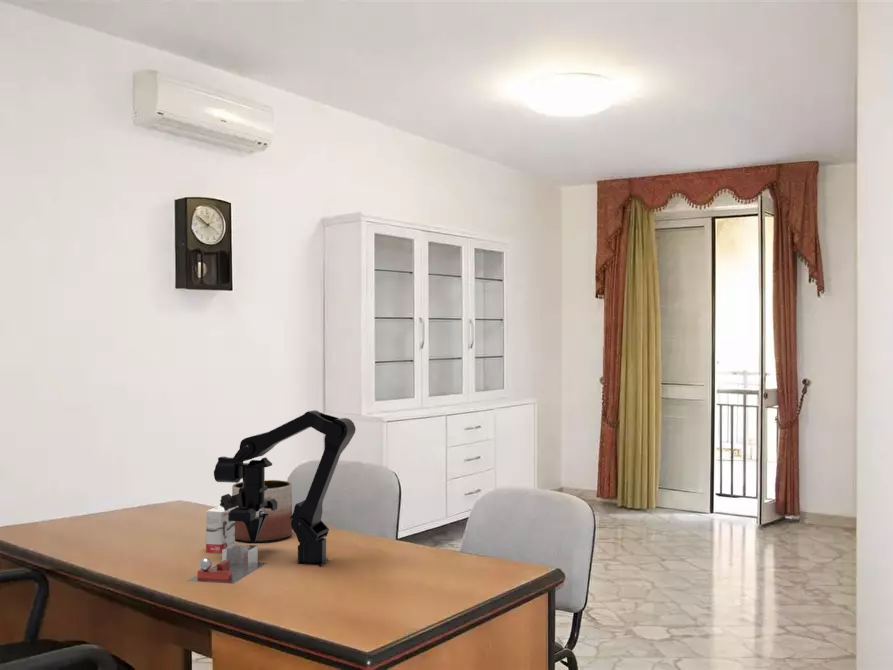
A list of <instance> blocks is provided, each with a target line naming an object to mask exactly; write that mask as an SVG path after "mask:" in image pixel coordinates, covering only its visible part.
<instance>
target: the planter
mask: <svg viewBox="0 0 893 670" xmlns="http://www.w3.org/2000/svg"><path fill="white" fill-rule="evenodd" d="M265 486H267V490H265V498H267V499H275V500H276V501H277V509H276V510H271V509H263V511H264V514H269V516H268V517H267V519H266V521H265V523H264V525H263V527H262V529H261V531H260V534H259V536H258V538H257V540H256V542H255V543H270V542H276V541H277V542H278V541H280V540H284V539H286V538H288V537H290V536H291V535H292V534H293V529H292V527H291V521H292V519H290V517H291V516H292V514H293V485H292V482H290V481H288V480H287V481H286V480H278V479H265ZM242 487H243V481H239V482H238V483H233V485H232V488H231V491H232V493H231V494H232V495H231V496H233V495H236V494H239V489H240V488H242ZM235 508H238V506H236V507H235ZM235 540H237V541H240V542H246V543H252V542H251V540H250V537H249V534H248V530H247V527H246V525H245V523H244V522H243V521H235Z"/></svg>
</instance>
